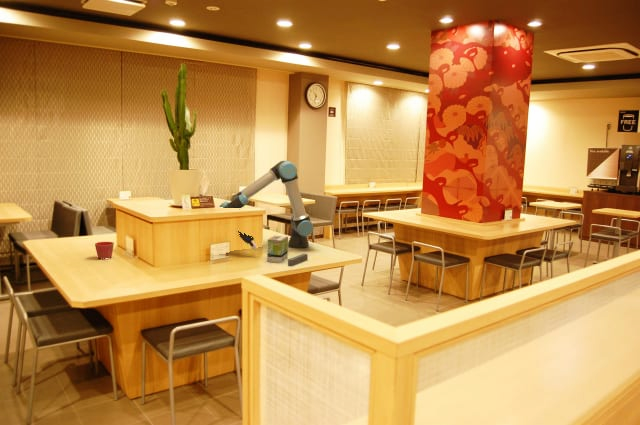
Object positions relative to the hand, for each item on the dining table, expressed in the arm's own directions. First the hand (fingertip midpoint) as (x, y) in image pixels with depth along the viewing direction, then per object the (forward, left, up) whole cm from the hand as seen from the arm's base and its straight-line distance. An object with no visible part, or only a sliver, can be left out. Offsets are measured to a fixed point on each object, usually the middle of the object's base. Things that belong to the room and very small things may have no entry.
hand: (256, 249), depth 332 cm
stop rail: (-1, +31, -5) cm, 31 cm away
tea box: (-2, +15, -6) cm, 16 cm away
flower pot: (+54, -79, -6) cm, 96 cm away
